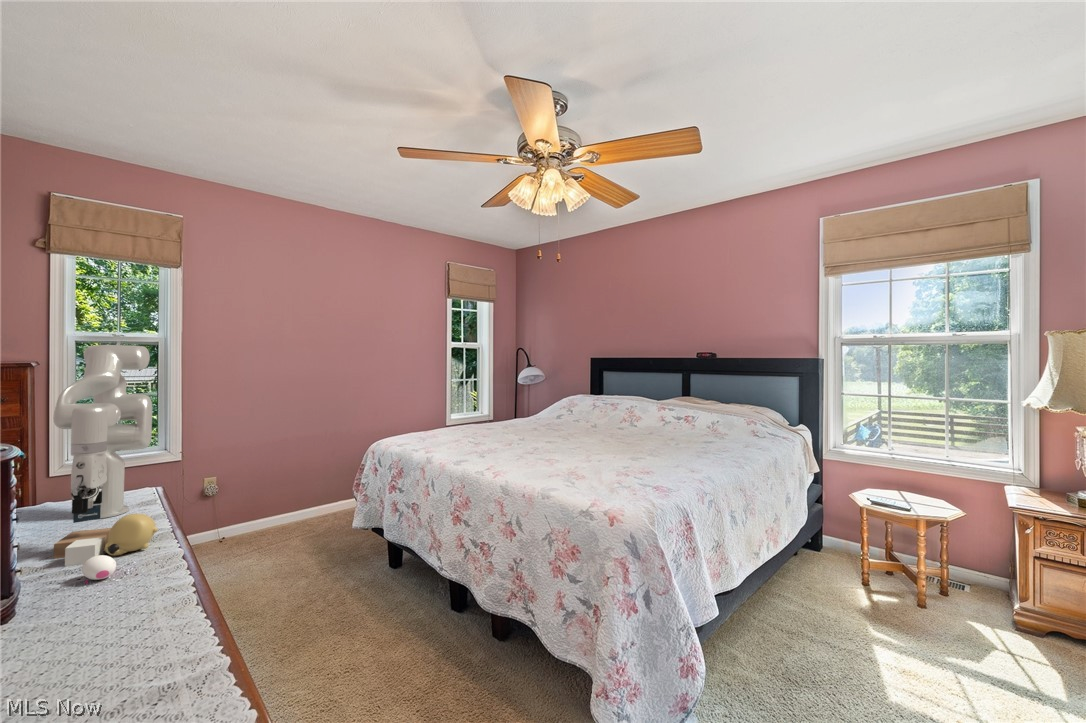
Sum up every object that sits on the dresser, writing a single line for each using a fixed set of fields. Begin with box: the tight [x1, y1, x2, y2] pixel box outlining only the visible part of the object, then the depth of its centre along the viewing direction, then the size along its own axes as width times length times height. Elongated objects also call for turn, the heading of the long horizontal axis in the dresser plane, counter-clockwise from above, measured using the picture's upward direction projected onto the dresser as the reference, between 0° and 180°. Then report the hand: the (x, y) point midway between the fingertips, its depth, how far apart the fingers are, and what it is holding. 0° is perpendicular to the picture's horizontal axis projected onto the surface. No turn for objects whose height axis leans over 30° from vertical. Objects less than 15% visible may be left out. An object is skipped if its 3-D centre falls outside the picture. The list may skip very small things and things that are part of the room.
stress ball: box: [81, 554, 117, 584], centre depth 117 cm, size 8×8×7 cm
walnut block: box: [53, 527, 112, 560], centre depth 133 cm, size 10×10×4 cm
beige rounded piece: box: [104, 513, 159, 557], centre depth 133 cm, size 10×12×11 cm
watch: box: [72, 486, 101, 524], centre depth 133 cm, size 6×8×11 cm
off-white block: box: [64, 537, 105, 567], centre depth 126 cm, size 6×6×5 cm
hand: (87, 508), depth 133 cm, fingers closed on watch, 8 cm apart
